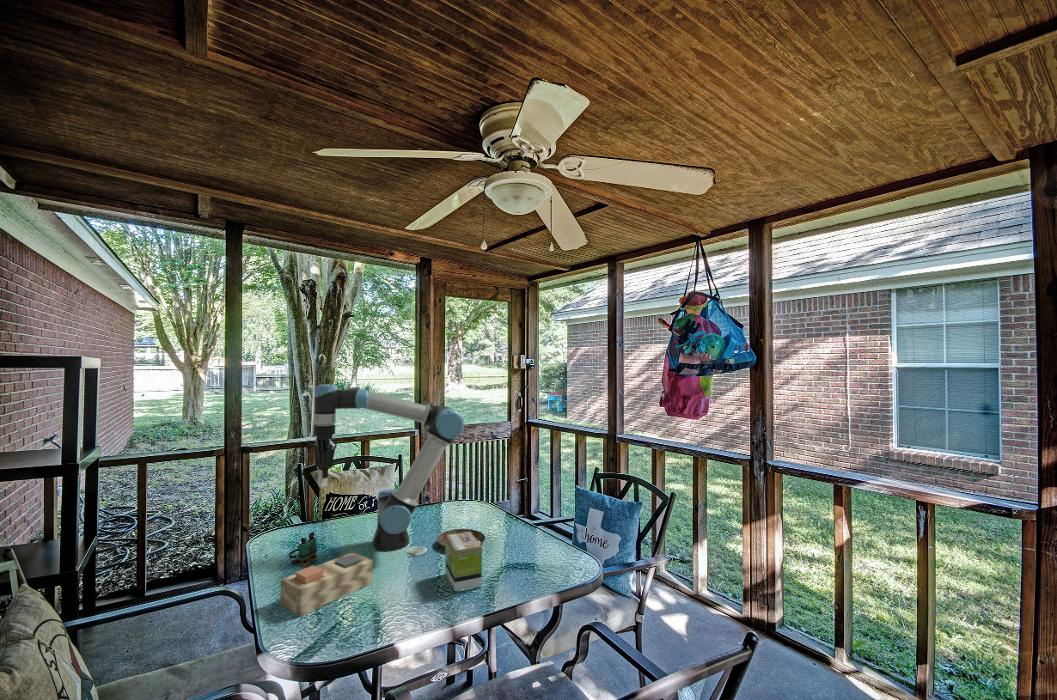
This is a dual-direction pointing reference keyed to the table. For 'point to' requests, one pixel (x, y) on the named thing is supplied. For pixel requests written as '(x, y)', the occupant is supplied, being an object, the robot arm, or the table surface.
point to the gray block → (347, 561)
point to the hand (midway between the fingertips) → (322, 486)
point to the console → (325, 585)
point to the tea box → (463, 561)
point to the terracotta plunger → (309, 575)
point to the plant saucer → (476, 534)
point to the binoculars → (305, 551)
